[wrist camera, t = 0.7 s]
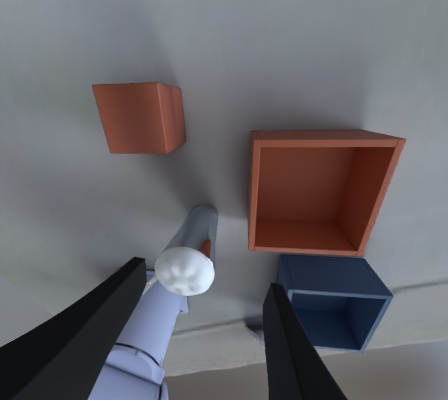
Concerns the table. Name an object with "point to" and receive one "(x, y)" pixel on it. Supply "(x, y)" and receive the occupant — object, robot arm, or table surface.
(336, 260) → the slate bin
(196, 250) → the milkshake
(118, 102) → the block
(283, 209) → the terracotta bin
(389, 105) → the table surface
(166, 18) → the table surface
